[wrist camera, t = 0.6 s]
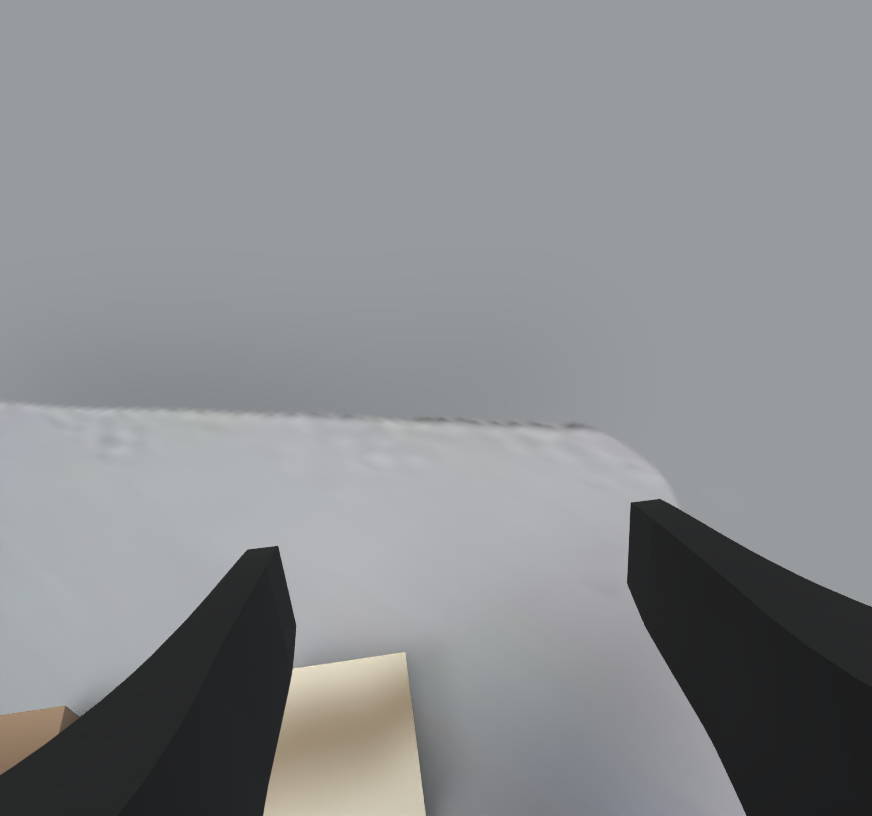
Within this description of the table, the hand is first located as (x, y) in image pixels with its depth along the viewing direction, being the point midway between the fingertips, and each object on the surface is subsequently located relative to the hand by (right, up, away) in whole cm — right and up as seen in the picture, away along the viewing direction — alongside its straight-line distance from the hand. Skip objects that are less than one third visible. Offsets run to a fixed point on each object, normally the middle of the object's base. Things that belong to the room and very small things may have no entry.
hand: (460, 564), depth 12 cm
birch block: (-4, -13, +13) cm, 19 cm away
